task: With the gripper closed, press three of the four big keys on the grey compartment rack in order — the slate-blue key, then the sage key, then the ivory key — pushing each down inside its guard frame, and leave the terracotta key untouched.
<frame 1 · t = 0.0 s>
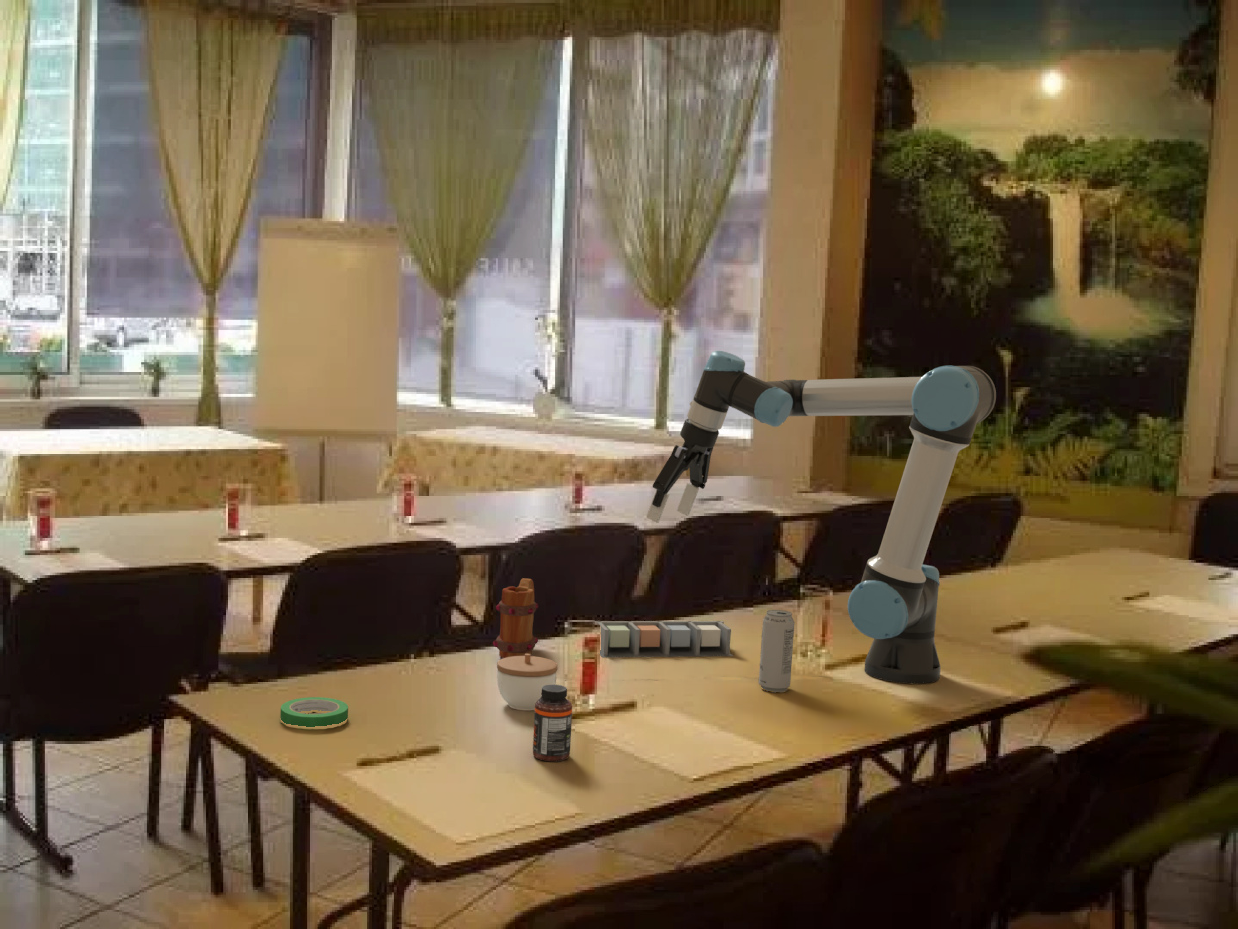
hand: (667, 516, 300), 28 cm above the table, tool tilted 20°, fingers open, 13 cm apart
mug: (518, 656, 289), on the table
grey compartment rack: (662, 655, 295), on the table
supplement bottle: (550, 758, 227), on the table
ivory key: (708, 635, 297), point 4 cm above the table, slide at 0.0 cm
slate key: (678, 636, 296), point 4 cm above the table, slide at 0.0 cm
lidded jar: (525, 707, 254), on the table
terracotta key: (648, 636, 294), point 4 cm above the table, slide at 0.0 cm
sage key: (617, 636, 292), point 4 cm above the table, slide at 0.0 cm
tape roll: (314, 723, 239), on the table
energy drink can: (773, 690, 274), on the table
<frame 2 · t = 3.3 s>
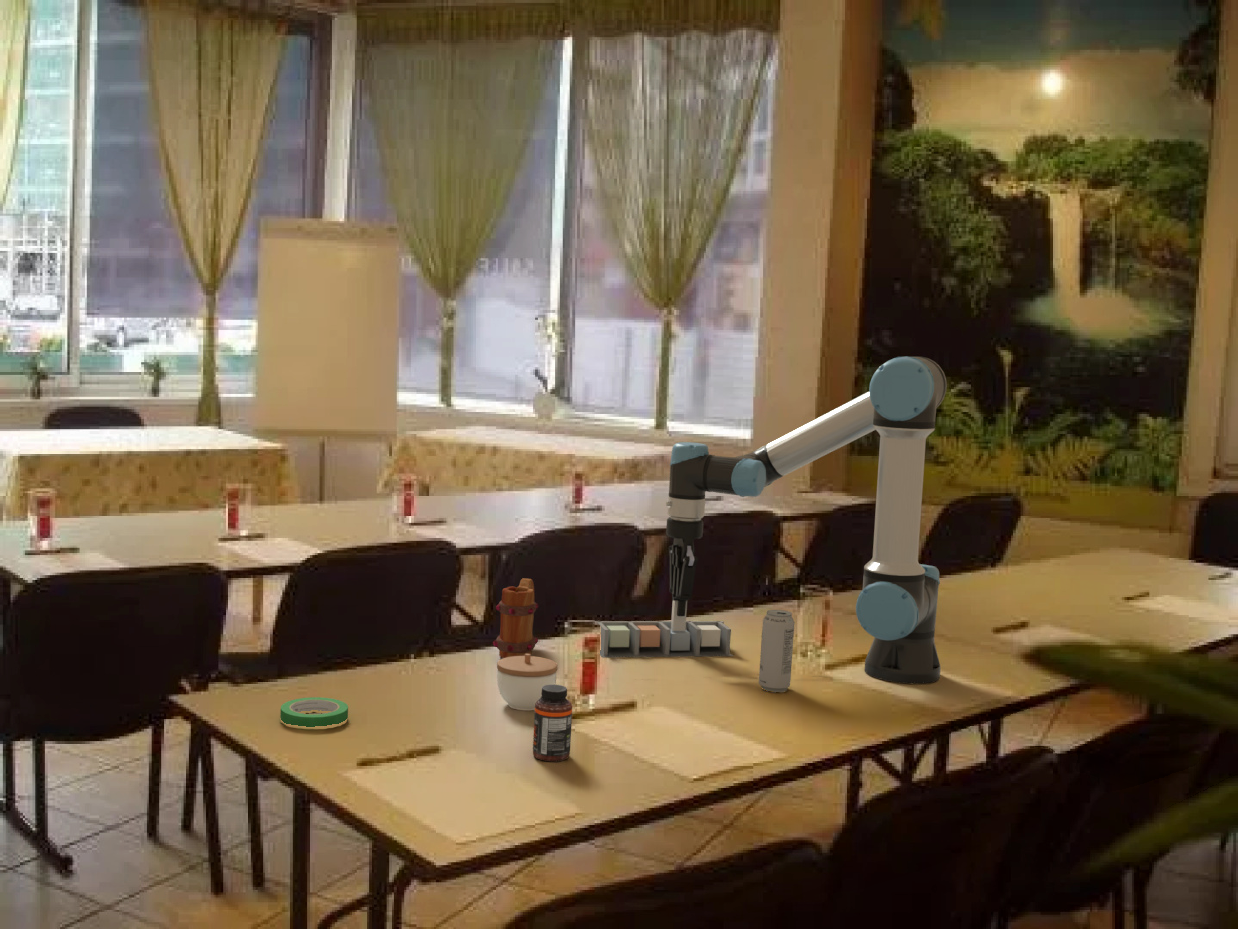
hand: (678, 630, 296), 5 cm above the table, tool pointing down, fingers closed
slate key: (677, 639, 296), point 3 cm above the table, slide at -0.8 cm, touching gripper
everything else where it was.
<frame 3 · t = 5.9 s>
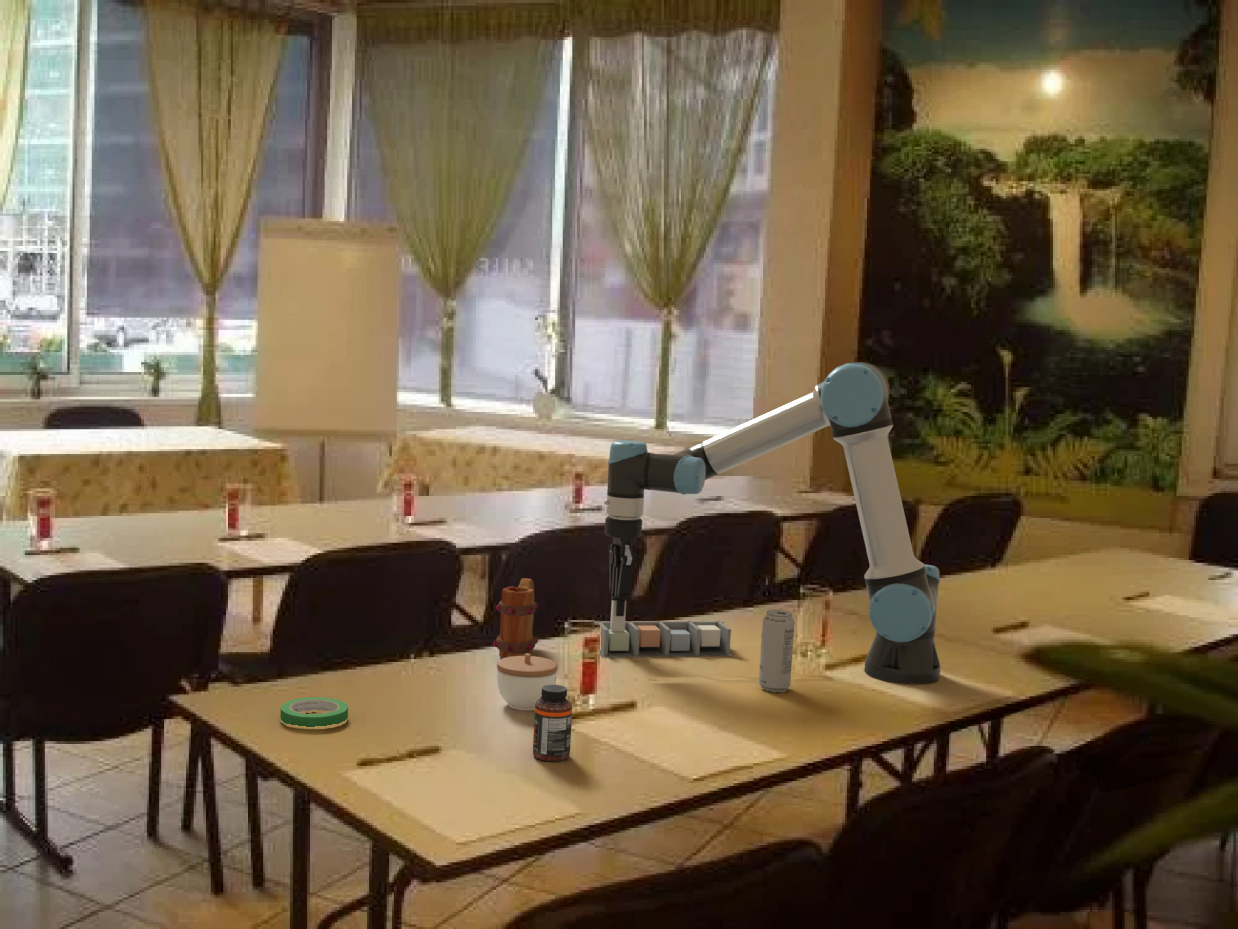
hand: (617, 630, 292), 5 cm above the table, tool pointing down, fingers closed
slate key: (677, 640, 296), point 3 cm above the table, slide at -0.9 cm
sage key: (617, 640, 292), point 3 cm above the table, slide at -0.8 cm, touching gripper
everything else where it was.
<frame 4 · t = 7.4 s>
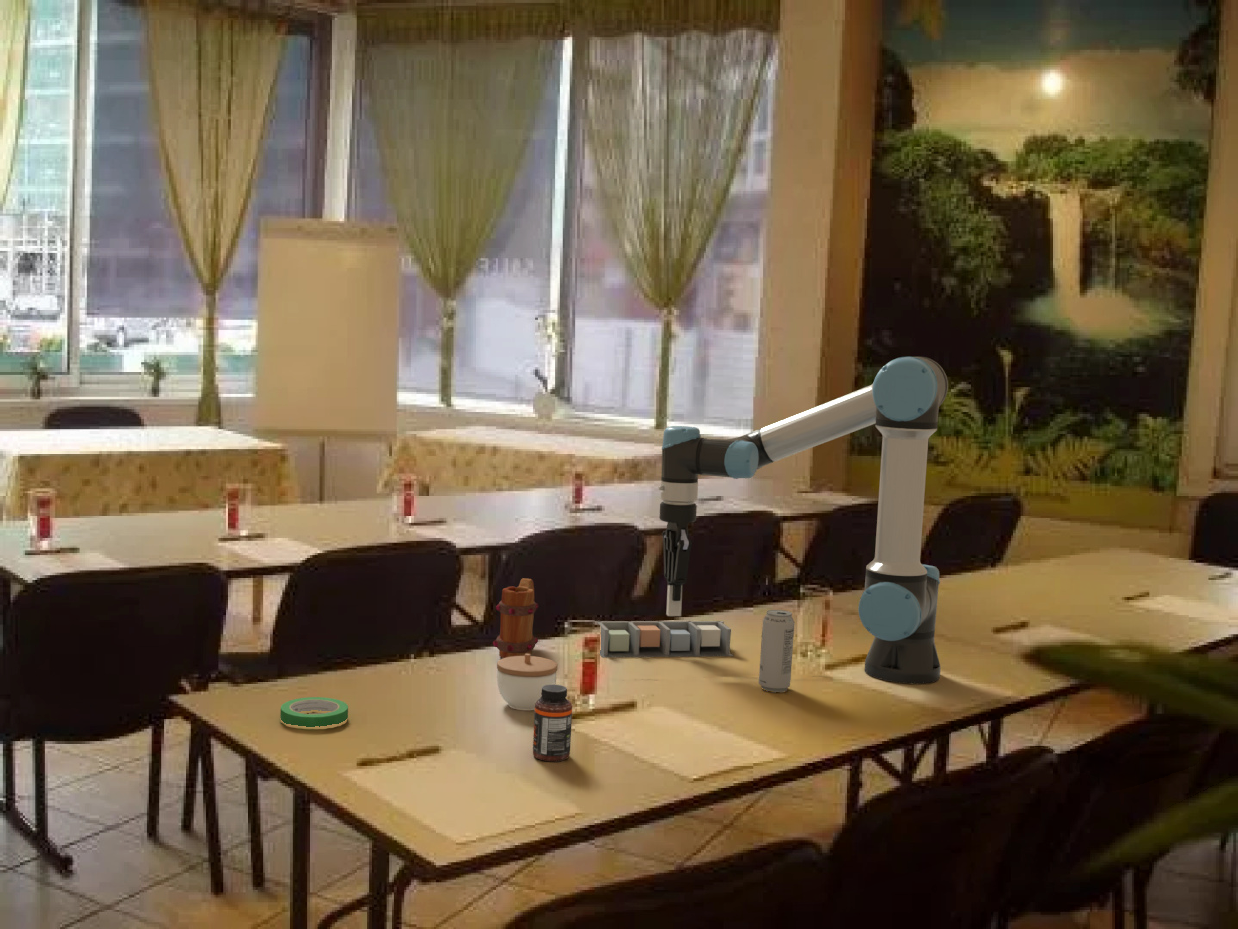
hand: (673, 615, 294), 9 cm above the table, tool pointing down, fingers closed
sage key: (617, 640, 292), point 3 cm above the table, slide at -0.9 cm
everything else where it was.
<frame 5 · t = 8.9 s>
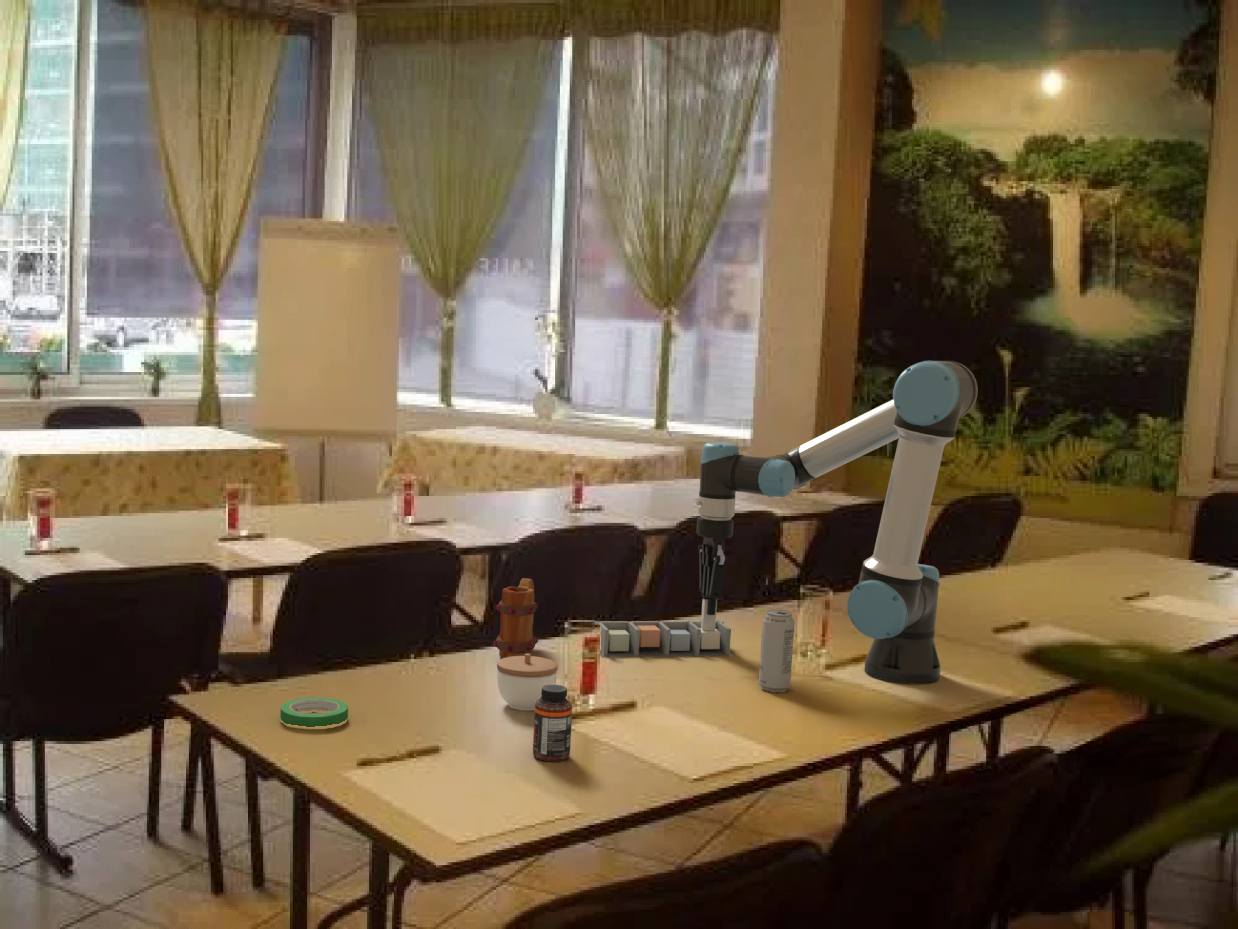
hand: (707, 628, 297), 5 cm above the table, tool pointing down, fingers closed
ivory key: (707, 638, 297), point 3 cm above the table, slide at -0.6 cm, touching gripper
everything else where it was.
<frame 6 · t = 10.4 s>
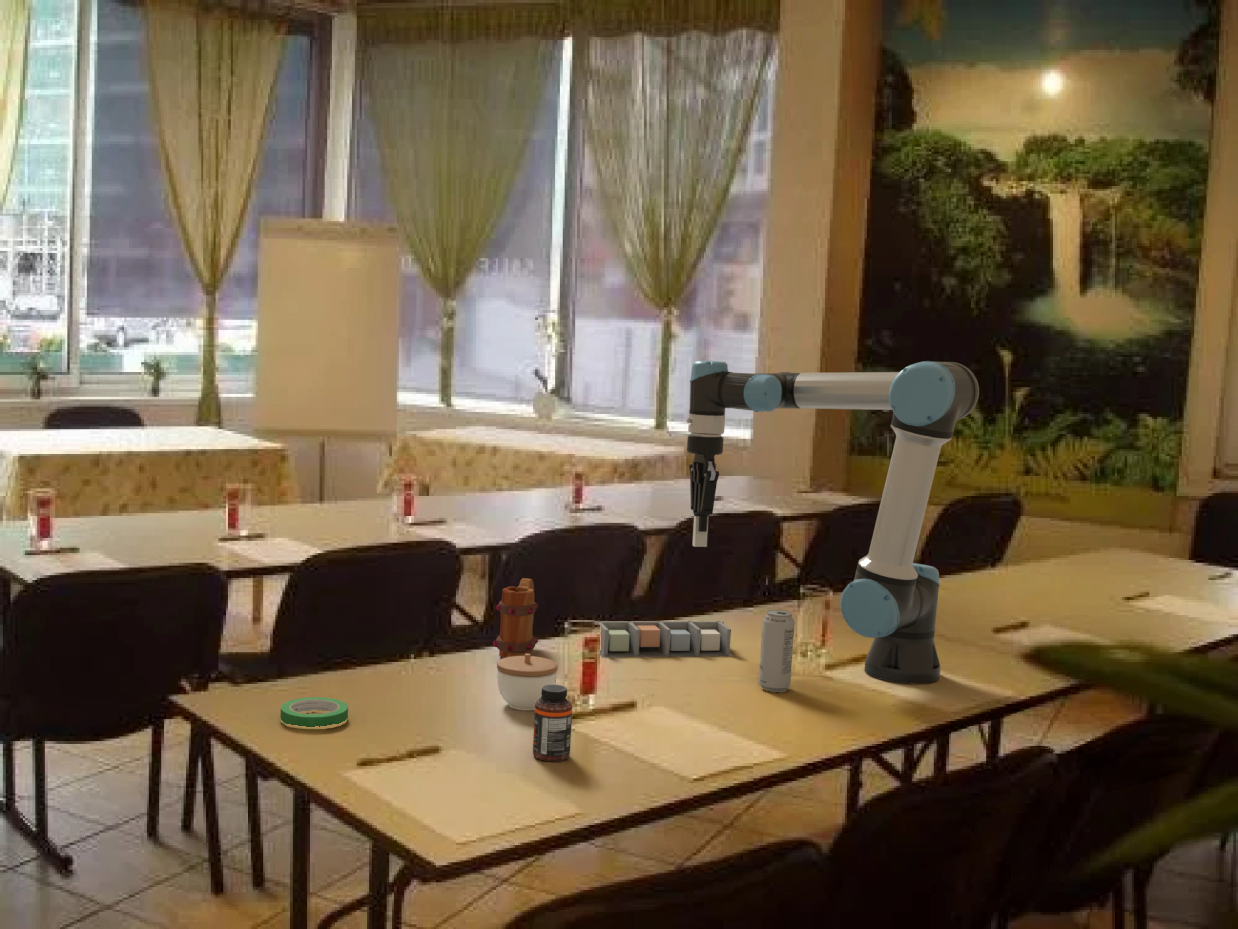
hand: (699, 546, 301), 22 cm above the table, tool pointing down, fingers closed
ivory key: (707, 639, 297), point 3 cm above the table, slide at -0.9 cm
everything else where it was.
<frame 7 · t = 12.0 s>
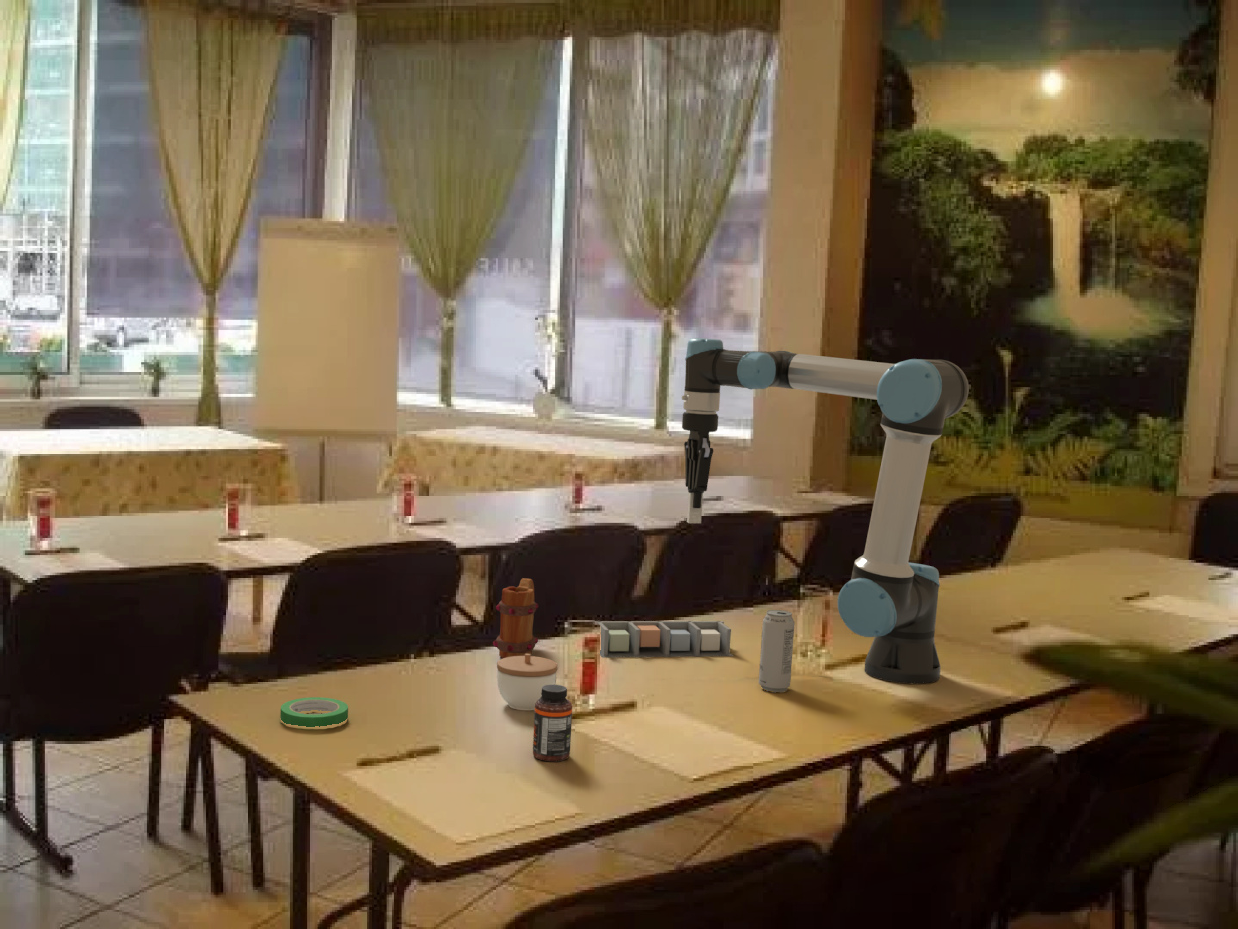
hand: (693, 522, 303), 26 cm above the table, tool pointing down, fingers closed
nothing on the table moved.
at the end: sage key slide at -0.9 cm; ivory key slide at -0.9 cm; terracotta key slide at 0.0 cm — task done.
